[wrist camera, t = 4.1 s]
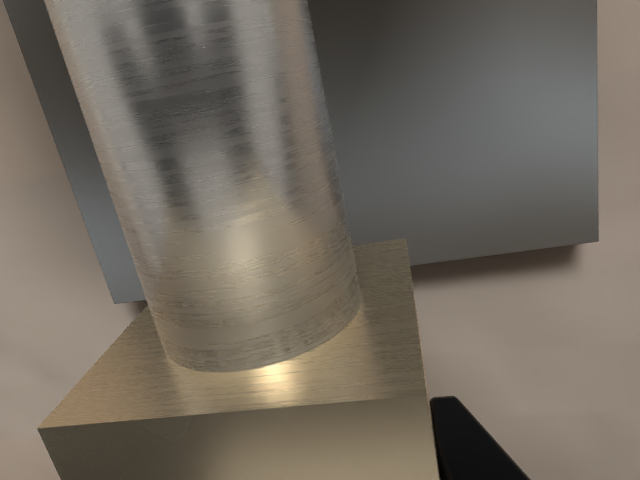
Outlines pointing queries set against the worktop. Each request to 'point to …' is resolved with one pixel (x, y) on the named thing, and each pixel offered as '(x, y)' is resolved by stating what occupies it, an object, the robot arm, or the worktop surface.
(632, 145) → the worktop surface
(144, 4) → the shaft
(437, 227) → the bearing block
